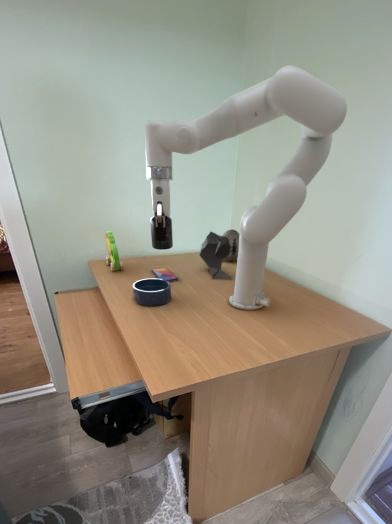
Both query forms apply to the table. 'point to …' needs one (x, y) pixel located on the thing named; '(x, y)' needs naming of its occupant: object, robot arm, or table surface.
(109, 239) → the green toy figure
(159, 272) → the smartphone
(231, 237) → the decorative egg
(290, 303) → the table surface
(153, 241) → the supplement bottle
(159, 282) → the bowl
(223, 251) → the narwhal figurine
